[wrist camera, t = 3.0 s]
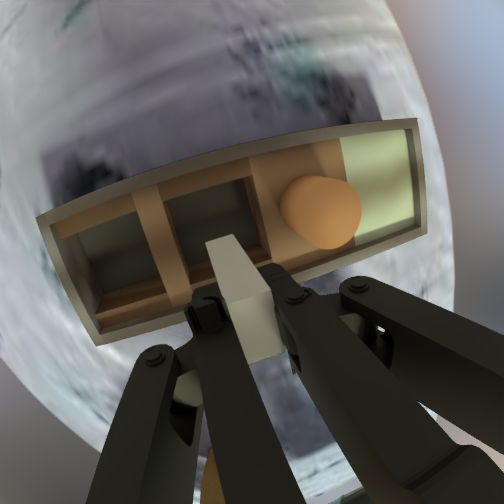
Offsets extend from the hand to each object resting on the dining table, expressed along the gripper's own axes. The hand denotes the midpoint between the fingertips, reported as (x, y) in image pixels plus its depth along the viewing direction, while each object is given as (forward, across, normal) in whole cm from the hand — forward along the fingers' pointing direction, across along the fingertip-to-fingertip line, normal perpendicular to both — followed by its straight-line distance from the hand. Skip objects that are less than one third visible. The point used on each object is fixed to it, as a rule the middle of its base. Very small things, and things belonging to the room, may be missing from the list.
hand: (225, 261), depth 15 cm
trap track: (+12, -4, 0) cm, 12 cm away
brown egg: (+7, -8, 0) cm, 11 cm away
